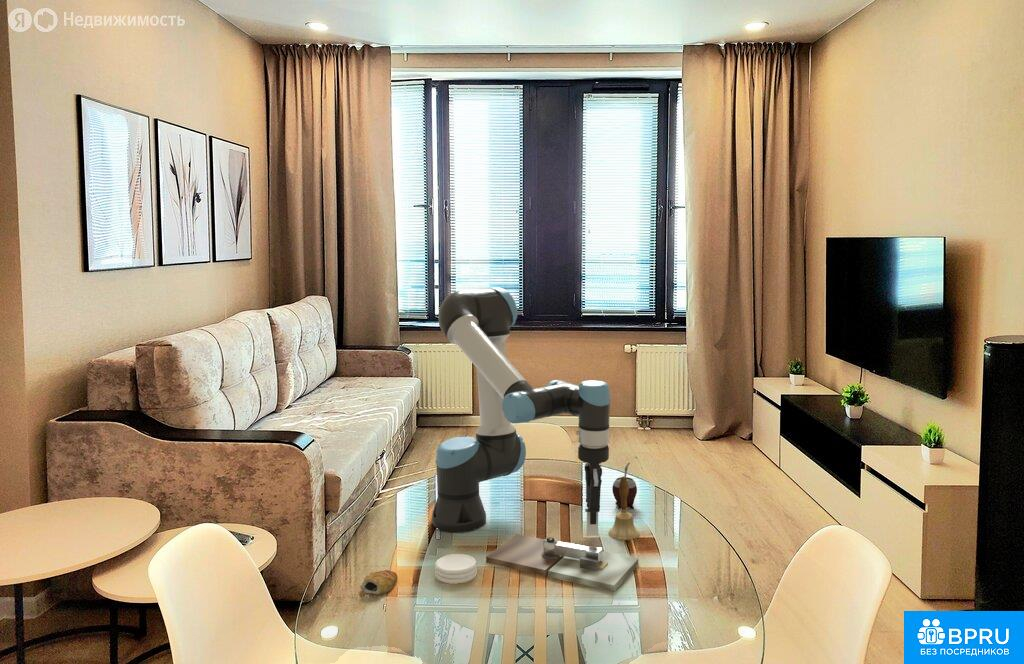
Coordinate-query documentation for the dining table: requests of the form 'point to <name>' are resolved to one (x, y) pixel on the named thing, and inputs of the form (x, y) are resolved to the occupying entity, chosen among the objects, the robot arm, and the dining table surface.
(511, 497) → the dining table surface
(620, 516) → the hand bell
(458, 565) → the coaster
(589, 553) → the swing bar
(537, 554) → the door board
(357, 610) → the dining table surface
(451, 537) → the dining table surface
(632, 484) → the mate gourd
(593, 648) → the dining table surface
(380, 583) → the pastry
